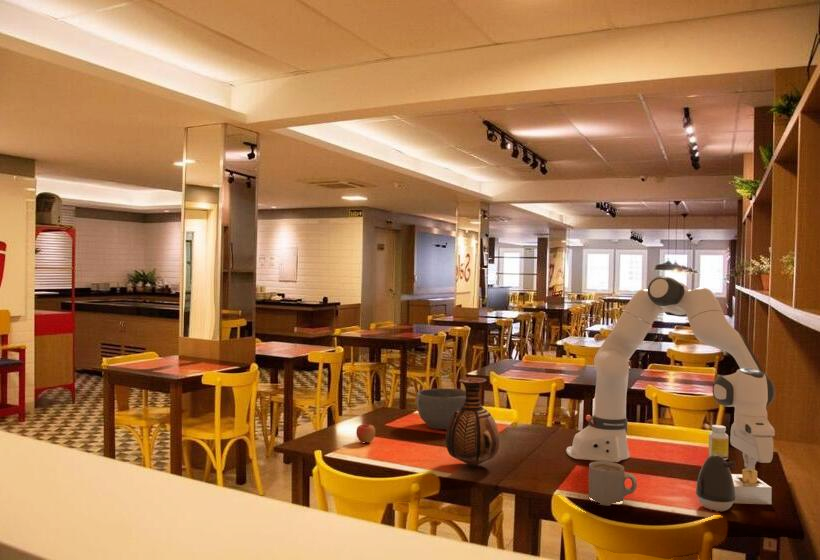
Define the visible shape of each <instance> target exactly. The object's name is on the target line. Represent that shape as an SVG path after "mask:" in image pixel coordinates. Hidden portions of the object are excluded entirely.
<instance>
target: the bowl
mask: <svg viewBox="0 0 820 560" xmlns="http://www.w3.org/2000/svg"><path fill="white" fill-rule="evenodd" d="M415 395H416V396H415V405H416V410H417V412H418V414H419V417H420V419H421V420H422V421H423V422H424V423H425V424H426V426H428V427H430V428H432V429H434V430H447V427H448V424H449V421H450V419H451V417H452V415H453V414H454V412H455V411H457V410H458V409H460V408H461V407H463V405H464V403H465V398H466V390H464V389H460V388H441V387H440V388H429V389H421V390H419V391H417V392H416V394H415Z"/></svg>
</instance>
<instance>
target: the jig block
mask: <svg viewBox="0 0 820 560" xmlns="http://www.w3.org/2000/svg"><path fill="white" fill-rule="evenodd" d="M731 475H732V478H733V482H734V488H735V500H734V501H733V504H744V505H745V504H746V505H748V504H749V505H772V492H773V491H772V490H773V489H772V488H773V487H772V486H770V485H769V484H767V483H766V482H764V481H763V480H761V479H760V478H758V477H757V484H756V483H743V482H742V473H741V474H740V473H731Z"/></svg>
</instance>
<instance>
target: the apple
mask: <svg viewBox="0 0 820 560" xmlns="http://www.w3.org/2000/svg"><path fill="white" fill-rule="evenodd" d="M375 435H376V428H375V426H374V425H372V424H364V422H362V424H361V425H358V426H357V427H356V437H357V439H358V440H359V442H361V443H362V442H367V443H368V442H370V441H371V442H373V440H374V438H375ZM371 442H370V443H371Z"/></svg>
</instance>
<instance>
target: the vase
mask: <svg viewBox="0 0 820 560" xmlns="http://www.w3.org/2000/svg"><path fill="white" fill-rule="evenodd" d="M487 381H488V380H487V378H484V377H483V378H482V377H465V378H461V379H458V382H459V383H462V384H463V386H464V389H465V391H466V398H465V403H464V405H463V407H461V408H460V409H458V410H457V411H455V412H454V414H453V415H452V417H451V419H450V421H449V424H448V427H447V429H446V433H445V447H446V450H447V452H448V454H449V456H451V457H452V458H455V459H456V460H459V461H461V462H463V463H465V464H466V465H468V466H469V467H471V468H475V467H477V466H478V465H480V464H482V463H485V462H487V461H489V460H492V459H493V458H495V457H497V455H498V452H499V449H500V434H499V429H498V425H497V423H496V421H495V419H494V416H493V415H492V414H491V412H490V411H488V410H487V409H486V408H484V406H482V403H481V400H480V391H481V387H482V386H483V384H484V383H485V382H486V383H487Z"/></svg>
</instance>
